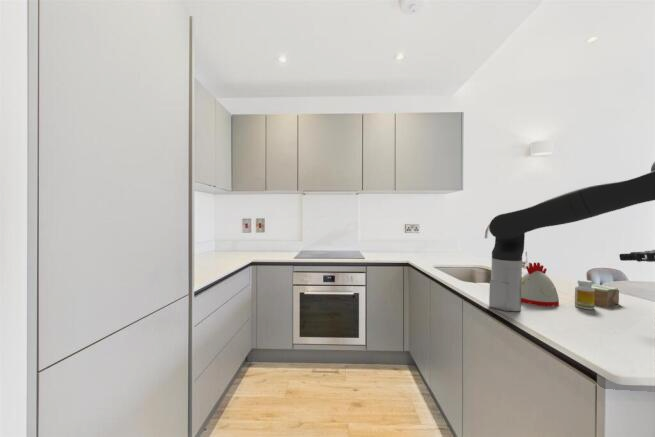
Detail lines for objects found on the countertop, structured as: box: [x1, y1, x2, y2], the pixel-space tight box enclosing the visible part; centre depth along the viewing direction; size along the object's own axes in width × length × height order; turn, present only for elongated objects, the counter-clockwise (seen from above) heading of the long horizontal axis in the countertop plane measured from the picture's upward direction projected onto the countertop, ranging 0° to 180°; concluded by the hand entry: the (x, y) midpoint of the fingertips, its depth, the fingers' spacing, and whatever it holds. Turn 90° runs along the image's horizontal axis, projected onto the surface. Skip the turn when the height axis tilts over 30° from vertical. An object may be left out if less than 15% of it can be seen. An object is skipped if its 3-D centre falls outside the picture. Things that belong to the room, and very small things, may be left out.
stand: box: [591, 283, 620, 308], centre depth 115 cm, size 9×9×6 cm
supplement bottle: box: [574, 279, 595, 310], centre depth 107 cm, size 5×5×10 cm
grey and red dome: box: [521, 262, 560, 307], centre depth 115 cm, size 14×14×15 cm
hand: (625, 256), depth 99 cm, fingers open, 8 cm apart
